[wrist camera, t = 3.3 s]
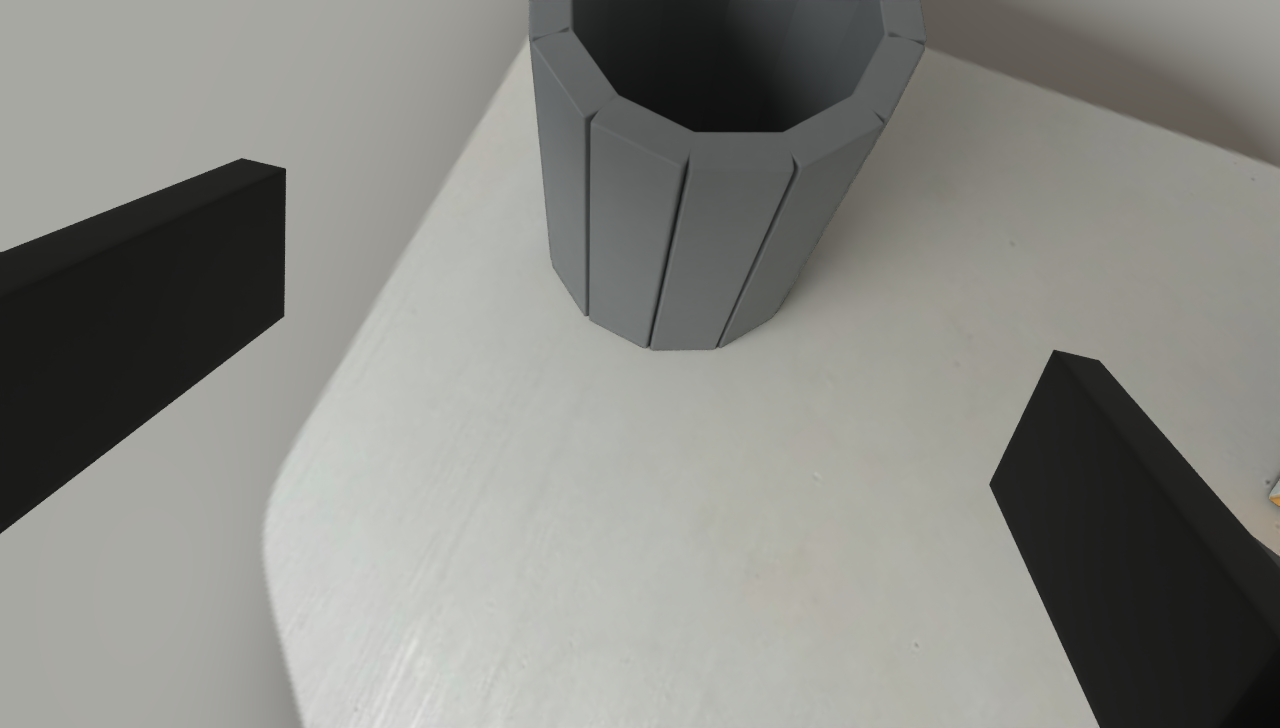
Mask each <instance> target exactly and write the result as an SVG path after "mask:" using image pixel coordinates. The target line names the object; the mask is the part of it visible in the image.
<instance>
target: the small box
mask: <svg viewBox="0 0 1280 728" xmlns="http://www.w3.org/2000/svg"><path fill="white" fill-rule="evenodd" d="M1269 499H1270V500H1271V501H1272V502H1273V503H1275V504H1276V505H1278V506H1279V507H1280V479H1279V480H1278V482H1277V484H1276V485H1275V487H1274V488H1273V490H1272V491H1271V493H1270V495H1269Z"/></svg>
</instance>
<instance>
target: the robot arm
mask: <svg viewBox="0 0 1280 728" xmlns="http://www.w3.org/2000/svg"><path fill="white" fill-rule="evenodd" d="M285 200H286V169H285V168H281V167H277V166H273V165H268V164H264V163H260V162H256V161H251V160H247V159H243V158H241V159H239V160H236V161H234V162H231V163H229V164H226V165H223V166H221V167H218V168H216V169H213V170H210V171H208V172H205V173H203V174H201V175H198V176H196V177H193V178H190V179H188V180H185V181H182V182H180V183H177V184H175V185H172V186H170V187H167V188H165V189H162V190H159V191H157V192H155V193H152V194H149V195H147V196H144V197H141V198H139V199H136V200H134V201H131V202H129V203H127V204H124V205H121V206H119V207H116V208H113V209H111V210H108V211H106V212H103V213H101V214H98V215H96V216H93V217H90V218H88V219H85V220H83V221H80V222H78V223H75V224H73V225H70V226H68V227H65V228H62V229H60V230H57V231H55V232H52V233H50V234H47V235H44V236H42V237H39V238H37V239H34V240H32V241H29V242H27V243H24V244H21V245H19V246H16V247H14V248H11V249H9V250H6V251H4V252H0V534H1V533H2V532H3V531H4V530H6V529H7V528H8V527H10V526H11V525H12V524H14V523H15V522H16V521H17V520H19V519H20V518H21V517H23V516H24V515H25V514H27V513H28V512H29V511H30V510H32V509H33V508H34V507H36V506H37V505H38V504H40V503H41V502H42V501H44V500H45V499H46V498H47V497H49V496H50V495H51V494H53V493H54V492H55V491H57V490H58V489H59V488H61V487H62V486H63V485H65V484H66V483H67V482H68V481H70V480H71V479H72V478H73V477H75V476H76V475H77V474H79V473H80V472H81V471H83V470H84V469H85V468H87V467H88V466H89V465H90V464H92V463H93V462H95V461H96V460H97V459H98V458H100V457H101V456H102V455H104V454H105V453H106V452H108V451H109V450H110V449H112V448H113V447H114V446H115V445H117V444H118V443H119V442H121V441H122V440H123V439H125V438H126V437H127V436H129V435H130V434H131V433H132V432H134V431H135V430H136V429H137V428H139V427H140V426H142V425H143V424H144V423H145V422H147V421H148V420H149V419H151V418H152V417H153V416H155V415H156V414H157V413H158V412H160V411H161V410H162V409H164V408H165V407H166V406H168V404H170V403H172V402H173V401H174V400H175V399H177V398H178V397H179V396H181V395H182V394H183V393H185V392H186V391H187V390H189V389H190V388H191V387H192V386H194V385H195V384H196V383H198V382H199V381H200V380H202V379H203V378H204V377H206V376H207V375H208V374H209V373H211V372H212V371H213V370H215V369H216V368H217V367H219V366H220V365H221V364H223V363H224V362H225V361H226V360H227V359H229V358H230V357H232V356H233V355H234V354H236V353H237V352H238V351H239V350H241V349H242V348H243V347H245V346H246V345H247V344H249V343H250V342H251V341H253V340H254V339H255V338H256V337H258V336H259V335H260V334H262V333H263V332H264V331H266V330H267V329H268V328H269V327H271V326H272V325H273V324H275V323H276V322H277V321H278V320H280V319H281V318H283V317H284V294H285V293H284V291H285V286H284V285H285V205H286V203H285V202H286V201H285ZM989 485H990V487H991V490H992V492H993V494H994V496H995V498H996V501H997V503H998V505H999V507H1000V509H1001V512H1002V514H1003V516H1004V518H1005V520H1006V523H1007V525H1008V527H1009V529H1010V531H1011V534H1012V536H1013V538H1014V540H1015V542H1016V545H1017V547H1018V549H1019V551H1020V553H1021V556H1022V558H1023V560H1024V562H1025V564H1026V567H1027V569H1028V571H1029V573H1030V575H1031V578H1032V580H1033V582H1034V584H1035V586H1036V589H1037V591H1038V593H1039V595H1040V597H1041V600H1042V602H1043V604H1044V606H1045V608H1046V611H1047V613H1048V615H1049V617H1050V619H1051V622H1052V624H1053V626H1054V628H1055V630H1056V632H1057V635H1058V637H1059V639H1060V641H1061V643H1062V646H1063V648H1064V650H1065V652H1066V654H1067V657H1068V659H1069V661H1070V663H1071V665H1072V668H1073V670H1074V672H1075V674H1076V676H1077V679H1078V681H1079V683H1080V685H1081V687H1082V690H1083V692H1084V694H1085V696H1086V698H1087V701H1088V703H1089V705H1090V707H1091V709H1092V712H1093V714H1094V716H1095V718H1096V720H1097V723H1098V725H1099V727H1100V728H1280V557H1279V556H1278V555H1277V554H1275V553H1274V552H1273V551H1271V550H1270V549H1269V548H1268V547H1266V546H1265V545H1264V544H1262V543H1261V542H1260V541H1258V540H1257V539H1256V538H1254V537H1253V536H1252V535H1251V534H1250V533H1249V532H1248V531H1247V530H1246V529H1245V527H1244V526H1243V525H1242V524H1241V523H1240V522H1239V520H1238V519H1237V518H1236V517H1235V516H1234V515H1233V514H1232V512H1231V511H1230V510H1229V509H1228V508H1227V507H1226V506H1225V504H1224V503H1223V502H1222V501H1221V500H1220V499H1219V497H1218V496H1217V495H1216V494H1215V493H1214V492H1213V491H1212V489H1211V488H1210V487H1209V486H1208V485H1207V484H1206V483H1205V481H1204V480H1203V479H1202V478H1201V477H1200V476H1199V475H1198V473H1197V472H1196V471H1195V470H1194V469H1193V468H1192V466H1191V465H1190V464H1189V463H1188V462H1187V461H1186V460H1185V458H1184V457H1183V456H1182V455H1181V454H1180V453H1179V452H1178V450H1177V449H1176V448H1175V447H1174V446H1173V445H1172V443H1171V442H1170V441H1169V440H1168V439H1167V438H1166V437H1165V435H1164V434H1163V433H1162V432H1161V431H1160V430H1159V429H1158V427H1157V426H1156V425H1155V424H1154V423H1153V422H1152V421H1151V419H1150V418H1149V417H1148V416H1147V415H1146V414H1145V412H1144V411H1143V410H1142V409H1141V408H1140V407H1139V406H1138V404H1137V403H1136V402H1135V401H1134V400H1133V399H1132V398H1131V396H1130V395H1129V394H1128V393H1127V392H1126V391H1125V389H1124V388H1123V387H1122V386H1121V385H1120V384H1119V383H1118V381H1117V380H1116V379H1115V378H1114V377H1113V376H1112V375H1111V373H1110V372H1109V371H1108V370H1107V369H1106V368H1105V367H1104V365H1103V364H1102V363H1101V362H1100V361H1099V360H1095V359H1091V358H1087V357H1083V356H1078V355H1074V354H1070V353H1066V352H1061V351H1057V350H1053V352H1052V354H1051V356H1050V358H1049V361H1048V363H1047V365H1046V367H1045V369H1044V371H1043V373H1042V375H1041V377H1040V379H1039V381H1038V384H1037V386H1036V388H1035V390H1034V392H1033V394H1032V396H1031V398H1030V400H1029V402H1028V404H1027V406H1026V409H1025V411H1024V413H1023V415H1022V417H1021V419H1020V421H1019V423H1018V425H1017V427H1016V429H1015V432H1014V434H1013V436H1012V438H1011V440H1010V442H1009V444H1008V446H1007V448H1006V450H1005V452H1004V455H1003V457H1002V459H1001V461H1000V463H999V465H998V467H997V469H996V471H995V473H994V475H993V477H992V480H991V482H990V484H989Z"/></svg>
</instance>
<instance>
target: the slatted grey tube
mask: <svg viewBox="0 0 1280 728" xmlns="http://www.w3.org/2000/svg"><path fill="white" fill-rule="evenodd" d="M926 40H927V37H926V31H925V25H924V19H923V13H922V7H921V2H920V0H529V41H530V51H531V61H532V72H533V82H534V92H535V102H536V113H537V123H538V133H539V144H540V154H541V164H542V175H543V185H544V195H545V205H546V216H547V226H548V236H549V247H550V257H551V260H552V264H553V268H554V269H555V271H556V273H557V274H558V276H559V277H560V279H561V280H562V282H563V283H564V285H565V287H566V288H567V290H568V291H569V293H570V294H571V296H572V297H573V299H574V301H575V302H576V304H577V305H578V307H579V308H580V310H581V311H582V313H583V315H584V316H587V315H589V319H590V320H591V321H592V322H594V323H596V324H598V325H600V326H602V327H604V328H606V329H608V330H610V331H612V332H613V333H615V334H617V335H619V336H621V337H623V338H625V339H627V340H629V341H631V342H633V343H635V344H636V345H638V346H640V347H642V348H647V346H648V345H649V343H650V349H651V350H653V351H654V350H713V349H715V347H716V345H718V347H719V348H721V347H723V346H725V345H726V344H728V343H730V342H732V341H733V340H735V339H737V338H738V337H740V336H742V335H743V334H745V333H747V332H749V331H750V330H752V329H754V328H755V327H757V326H759V325H760V324H762V323H764V322H766V321H767V320H769V319H771V318H772V316H773V314H774V313H776V312H777V311H778V309H779V307H780V306H781V304H782V302H783V301H784V299H785V297H786V295H787V294H788V292H789V290H790V289H791V287H792V285H793V283H794V282H795V280H796V278H797V277H798V275H799V273H800V271H801V270H802V268H803V266H804V265H805V263H806V261H807V260H808V258H809V256H810V254H811V253H812V251H813V249H814V248H815V246H816V244H817V242H818V241H819V239H820V237H821V236H822V234H823V232H824V230H825V229H826V227H827V225H828V224H829V222H830V220H831V219H832V217H833V215H834V213H835V212H836V210H837V208H838V207H839V205H840V203H841V201H842V200H843V198H844V196H845V195H846V193H847V191H848V189H849V188H850V186H851V184H852V183H853V181H854V179H855V177H856V176H857V174H858V172H859V171H860V169H861V167H862V166H863V164H864V162H865V160H866V159H867V157H868V155H869V154H870V152H871V150H872V148H873V147H874V145H875V143H876V142H877V140H878V138H879V136H880V135H881V133H882V131H883V130H884V128H885V126H886V125H887V123H888V121H889V119H890V118H891V116H892V114H893V112H894V110H895V108H896V106H897V104H898V102H899V100H900V98H901V96H902V94H903V92H904V90H905V88H906V86H907V84H908V82H909V80H910V78H911V76H912V74H913V72H914V70H915V68H916V66H917V64H918V62H919V60H920V58H921V56H922V54H923V52H924V50H925V47H924V44H925V42H926Z"/></svg>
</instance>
